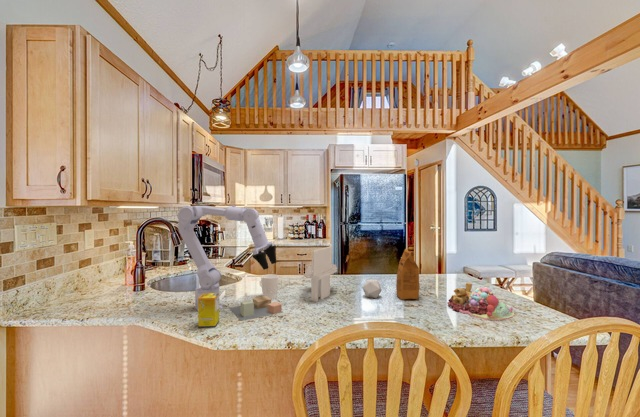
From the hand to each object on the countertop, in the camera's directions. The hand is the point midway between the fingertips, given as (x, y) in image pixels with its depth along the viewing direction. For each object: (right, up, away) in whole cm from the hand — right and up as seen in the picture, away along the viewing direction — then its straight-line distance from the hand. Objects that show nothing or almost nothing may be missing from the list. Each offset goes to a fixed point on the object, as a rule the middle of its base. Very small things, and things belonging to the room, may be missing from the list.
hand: (270, 266), depth 131 cm
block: (+2, -18, -5) cm, 18 cm away
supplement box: (-19, -18, -18) cm, 32 cm away
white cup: (-3, -18, +15) cm, 24 cm away
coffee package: (+62, -18, +16) cm, 67 cm away
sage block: (-8, -18, -8) cm, 21 cm away
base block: (-4, -17, +3) cm, 18 cm away
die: (+45, -18, +16) cm, 51 cm away
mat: (-6, -18, -3) cm, 19 cm away
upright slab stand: (+21, -18, +19) cm, 34 cm away
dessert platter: (+88, -18, 0) cm, 90 cm away
